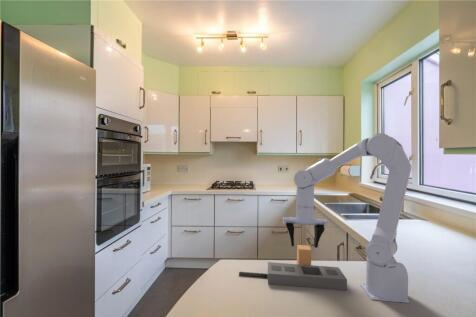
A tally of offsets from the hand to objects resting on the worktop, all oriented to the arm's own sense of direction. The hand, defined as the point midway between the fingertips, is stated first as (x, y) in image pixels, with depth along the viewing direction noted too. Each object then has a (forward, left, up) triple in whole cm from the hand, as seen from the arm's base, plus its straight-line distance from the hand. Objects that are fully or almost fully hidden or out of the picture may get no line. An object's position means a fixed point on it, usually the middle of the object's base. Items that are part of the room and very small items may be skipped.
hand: (304, 246), depth 83 cm
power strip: (+6, +9, -7) cm, 13 cm away
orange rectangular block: (0, 0, -7) cm, 7 cm away
